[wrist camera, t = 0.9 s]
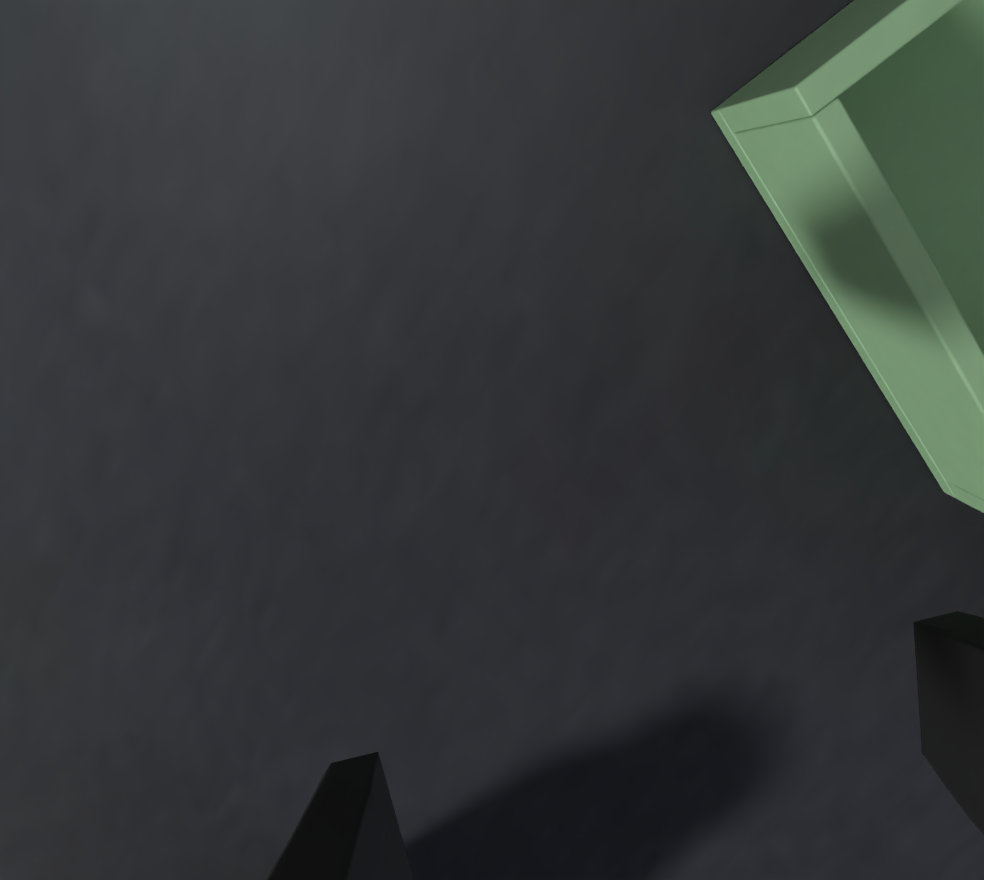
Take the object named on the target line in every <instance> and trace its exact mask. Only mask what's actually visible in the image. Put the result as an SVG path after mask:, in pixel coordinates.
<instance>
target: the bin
mask: <svg viewBox="0 0 984 880" xmlns="http://www.w3.org/2000/svg"><path fill="white" fill-rule="evenodd" d="M711 114H712V116H713V117H714V119H715V121H716V122H717V124H718V126H719V127H720V129H721V130H722V132H723V134H724V135H725V137H726V139H727V140H728V142H729V143H730V145H731V147H732V148H733V150H734V152H735V153H736V155H737V156H738V158H739V160H740V161H741V163H742V165H743V166H744V168H745V169H746V171H747V173H748V174H749V176H750V178H751V179H752V181H753V182H754V184H755V186H756V187H757V189H758V191H759V192H760V194H761V195H762V197H763V199H764V200H765V202H766V204H767V205H768V207H769V208H770V210H771V212H772V213H773V215H774V217H775V218H776V220H777V221H778V223H779V225H780V226H781V228H782V230H783V231H784V233H785V234H786V236H787V238H788V239H789V241H790V243H791V244H792V246H793V247H794V249H795V251H796V252H797V254H798V256H799V257H800V259H801V260H802V262H803V264H804V265H805V267H806V269H807V270H808V272H809V273H810V275H811V277H812V278H813V280H814V282H815V283H816V285H817V286H818V288H819V290H820V291H821V293H822V295H823V296H824V298H825V299H826V301H827V303H828V304H829V306H830V308H831V309H832V311H833V312H834V314H835V316H836V317H837V319H838V321H839V322H840V324H841V325H842V327H843V329H844V330H845V332H846V334H847V335H848V337H849V338H850V340H851V342H852V343H853V345H854V347H855V348H856V350H857V351H858V353H859V355H860V356H861V358H862V360H863V361H864V363H865V364H866V366H867V368H868V369H869V371H870V373H871V374H872V376H873V377H874V379H875V381H876V382H877V384H878V386H879V387H880V389H881V390H882V392H883V394H884V395H885V397H886V399H887V400H888V402H889V403H890V405H891V407H892V408H893V410H894V412H895V413H896V415H897V416H898V418H899V420H900V421H901V423H902V425H903V426H904V428H905V429H906V431H907V433H908V434H909V436H910V438H911V439H912V441H913V442H914V444H915V446H916V447H917V449H918V451H919V452H920V454H921V455H922V457H923V459H924V460H925V462H926V464H927V465H928V467H929V468H930V470H931V472H932V473H933V475H934V477H935V478H936V480H937V481H938V483H939V485H940V486H941V488H942V490H943V491H944V492H945V493H947V494H948V495H950V496H952V497H954V498H956V499H958V500H960V501H962V502H964V503H966V504H968V505H970V506H971V507H973V508H975V509H977V510H979V511H981V512H983V513H984V0H854V1H852V2H851V3H850V4H849V5H847V6H846V7H845V8H843V9H842V10H841V11H840V12H838V13H837V14H836V15H834V16H833V17H832V18H831V19H829V20H828V21H827V22H825V23H824V24H823V25H822V26H820V27H819V28H818V29H816V30H815V31H814V32H813V33H811V34H810V35H809V36H807V37H806V38H805V39H804V40H802V41H801V42H800V43H798V44H797V45H796V46H795V47H793V48H792V49H791V50H789V51H788V52H787V53H786V54H784V55H783V56H782V57H780V58H779V59H778V60H777V61H775V62H774V63H773V64H771V65H770V66H769V67H768V68H766V69H765V70H764V71H762V72H761V73H760V74H759V75H757V76H756V77H755V78H753V79H752V80H751V81H750V82H748V83H747V84H746V85H744V86H743V87H742V88H741V89H739V90H738V91H737V92H735V93H734V94H733V95H732V96H730V97H729V98H728V99H726V100H725V101H724V102H723V103H721V104H720V105H719V106H717V107H716V108H715V109H714V110H712V112H711Z"/></svg>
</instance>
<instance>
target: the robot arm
mask: <svg viewBox="0 0 984 880" xmlns="http://www.w3.org/2000/svg"><path fill="white" fill-rule="evenodd" d="M913 623H914V638H915V653H916V668H917V683H918V698H919V713H920V727H921V742H922V753H923V755H924V756H925V757H926V759H927V760H928V762H929V763H930V765H931V766H932V767H933V769H934V770H935V772H936V773H937V775H938V776H939V777H940V779H941V780H942V782H943V783H944V784H945V786H946V787H947V789H948V790H949V791H950V793H951V794H952V795H953V797H954V798H955V799H956V801H957V802H958V803H959V805H960V806H961V807H962V809H963V810H964V811H965V813H966V814H967V815H968V817H969V818H970V819H971V821H972V822H973V823H974V824H975V825H976V826H977V827H978V828H979V830H980V831H981V832H982V833H983V834H984V618H981V617H978V616H974V615H970V614H966V613H962V612H958V611H957V612H953V613H949V614H944V615H940V616H936V617H932V618H928V619H924V620H920V621H916V622H913ZM267 880H414V879H413V876H412V872H411V868H410V865H409V861H408V858H407V854H406V850H405V847H404V843H403V840H402V836H401V833H400V829H399V825H398V822H397V818H396V815H395V811H394V807H393V804H392V800H391V797H390V793H389V789H388V786H387V782H386V779H385V775H384V771H383V768H382V764H381V761H380V757H379V754H378V752H375V753H371V754H367V755H363V756H359V757H355V758H351V759H347V760H342V761H338V762H334V763H331V764H330V766H329V767H328V769H327V770H326V772H325V773H324V775H323V777H322V779H321V781H320V783H319V785H318V787H317V789H316V791H315V793H314V794H313V796H312V798H311V800H310V802H309V804H308V806H307V808H306V810H305V812H304V814H303V815H302V817H301V819H300V821H299V823H298V825H297V827H296V828H295V830H294V832H293V834H292V836H291V838H290V840H289V841H288V843H287V845H286V847H285V848H284V850H283V852H282V854H281V855H280V857H279V859H278V861H277V862H276V864H275V866H274V867H273V869H272V871H271V873H270V874H269V876H268V878H267Z"/></svg>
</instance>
